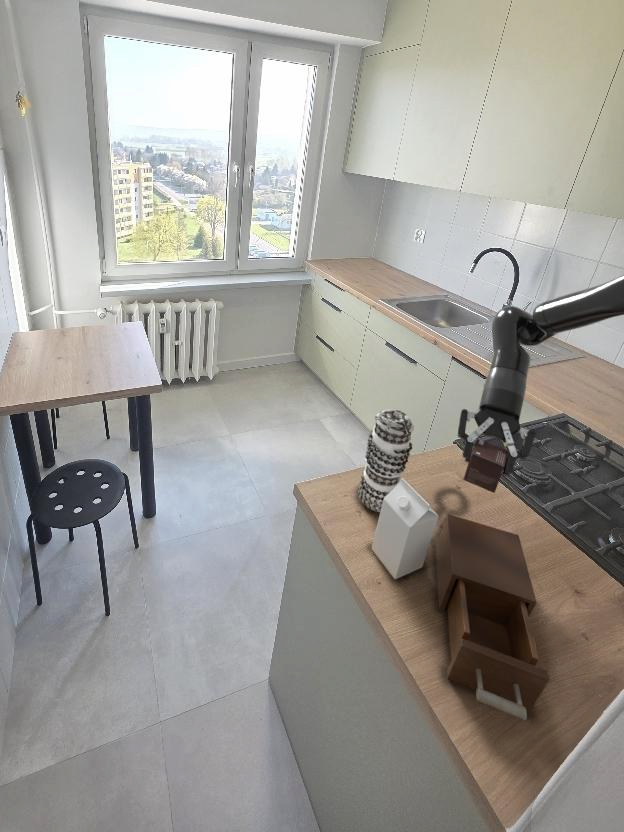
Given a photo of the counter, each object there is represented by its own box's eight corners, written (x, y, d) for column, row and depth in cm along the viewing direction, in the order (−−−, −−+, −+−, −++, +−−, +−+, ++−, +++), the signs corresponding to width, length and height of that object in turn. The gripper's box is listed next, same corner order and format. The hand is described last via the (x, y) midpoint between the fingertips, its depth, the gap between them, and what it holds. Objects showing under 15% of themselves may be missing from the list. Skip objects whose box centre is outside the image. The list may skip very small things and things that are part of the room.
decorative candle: (395, 492, 102) (417, 408, 92) (396, 523, 94) (420, 434, 83) (357, 482, 104) (374, 399, 94) (354, 511, 96) (373, 424, 86)
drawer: (536, 747, 59) (558, 714, 55) (449, 709, 62) (464, 676, 59) (512, 629, 73) (528, 597, 70) (442, 603, 77) (454, 571, 73)
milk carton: (397, 540, 90) (415, 473, 82) (421, 569, 84) (444, 500, 76) (370, 551, 87) (387, 482, 79) (394, 582, 81) (414, 511, 73)
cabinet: (516, 641, 72) (536, 602, 68) (438, 612, 76) (452, 573, 72) (502, 571, 84) (518, 535, 80) (434, 549, 88) (447, 513, 84)
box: (494, 494, 85) (504, 466, 82) (462, 480, 88) (471, 453, 85) (498, 477, 89) (509, 450, 86) (468, 464, 93) (477, 438, 90)
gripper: (468, 377, 90) (449, 452, 86) (547, 399, 84) (531, 480, 79) (464, 387, 97) (446, 457, 92) (538, 408, 90) (522, 484, 85)
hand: (485, 467), depth 86 cm, fingers closed on box, 6 cm apart
